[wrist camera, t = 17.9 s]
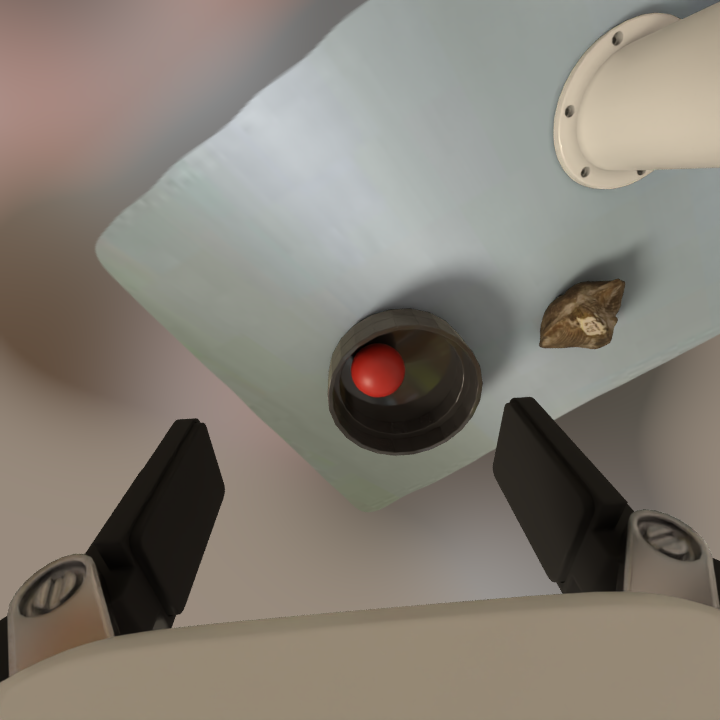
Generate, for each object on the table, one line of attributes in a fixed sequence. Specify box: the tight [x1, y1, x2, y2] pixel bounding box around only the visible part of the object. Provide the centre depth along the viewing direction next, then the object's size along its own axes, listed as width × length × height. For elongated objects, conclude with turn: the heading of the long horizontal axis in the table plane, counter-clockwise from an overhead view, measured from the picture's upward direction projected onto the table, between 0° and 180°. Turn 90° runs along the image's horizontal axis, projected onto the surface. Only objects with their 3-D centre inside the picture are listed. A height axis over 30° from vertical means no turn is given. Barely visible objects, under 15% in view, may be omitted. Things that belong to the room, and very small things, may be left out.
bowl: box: [328, 308, 483, 456], centre depth 40 cm, size 17×17×6 cm
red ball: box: [351, 343, 405, 397], centre depth 38 cm, size 6×6×6 cm
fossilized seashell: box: [539, 279, 625, 349], centre depth 38 cm, size 8×7×10 cm
